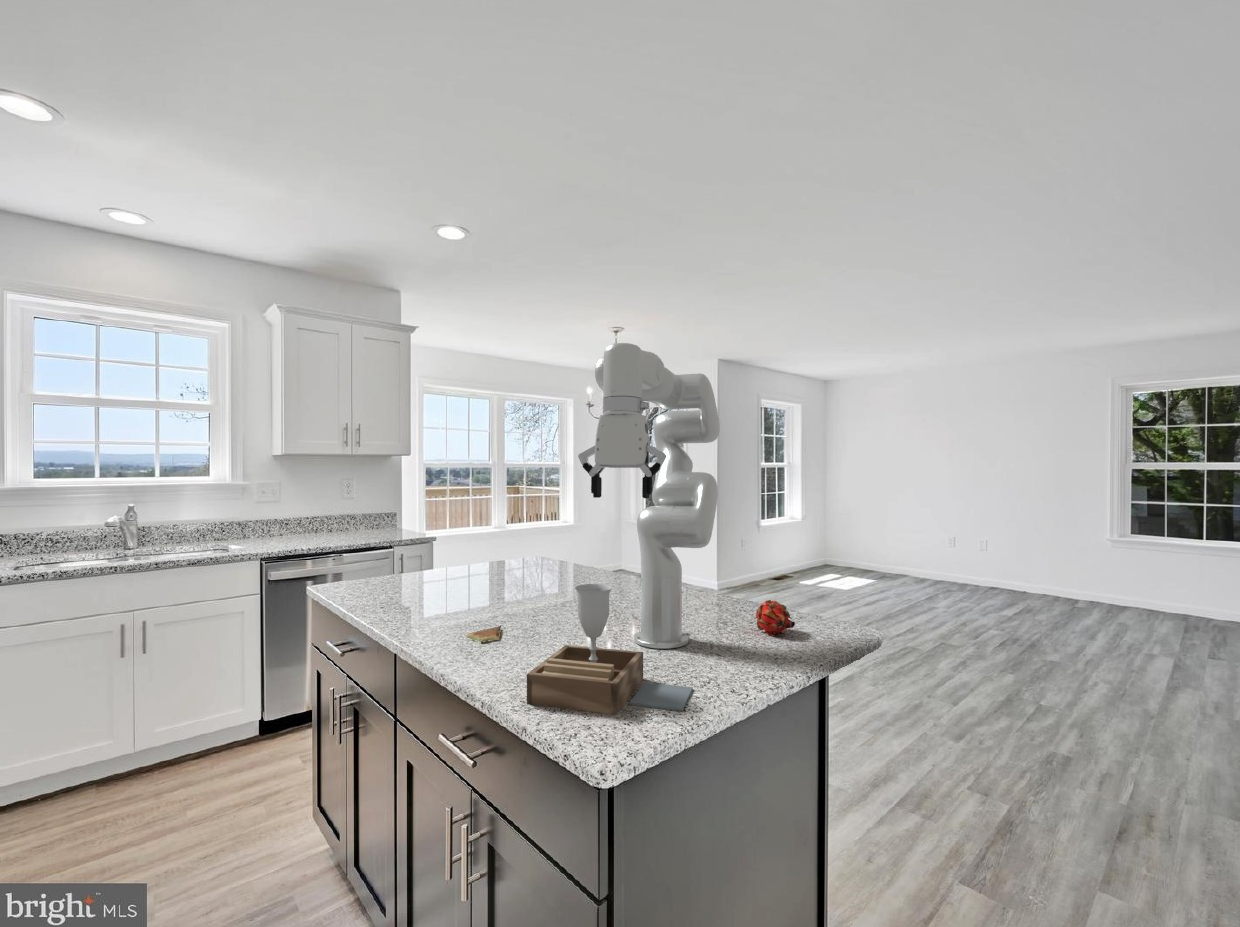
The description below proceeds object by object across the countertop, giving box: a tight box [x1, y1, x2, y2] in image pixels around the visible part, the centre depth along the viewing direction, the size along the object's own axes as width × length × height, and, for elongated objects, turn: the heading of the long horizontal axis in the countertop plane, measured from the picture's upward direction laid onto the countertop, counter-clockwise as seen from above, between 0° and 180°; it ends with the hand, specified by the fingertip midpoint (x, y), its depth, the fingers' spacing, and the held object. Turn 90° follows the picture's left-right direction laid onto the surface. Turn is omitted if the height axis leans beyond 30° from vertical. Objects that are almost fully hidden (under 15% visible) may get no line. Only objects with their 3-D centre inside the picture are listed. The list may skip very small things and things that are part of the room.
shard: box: [465, 625, 502, 643], centre depth 140 cm, size 11×8×2 cm
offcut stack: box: [542, 657, 614, 681], centre depth 100 cm, size 4×12×6 cm, turn 73°
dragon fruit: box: [755, 599, 796, 637], centre depth 143 cm, size 8×8×12 cm
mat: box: [629, 681, 694, 712], centre depth 102 cm, size 10×9×1 cm
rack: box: [526, 644, 644, 716], centre depth 105 cm, size 18×16×5 cm
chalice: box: [574, 583, 613, 663], centre depth 108 cm, size 7×7×18 cm
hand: (621, 497), depth 111 cm, fingers open, 9 cm apart
